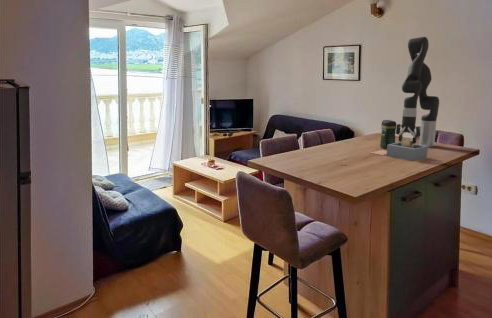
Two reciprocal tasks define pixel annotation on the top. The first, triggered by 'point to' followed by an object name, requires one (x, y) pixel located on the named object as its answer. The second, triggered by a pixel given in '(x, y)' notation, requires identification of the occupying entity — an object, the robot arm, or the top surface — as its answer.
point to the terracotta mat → (380, 152)
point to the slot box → (407, 151)
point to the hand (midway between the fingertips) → (407, 142)
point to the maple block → (407, 143)
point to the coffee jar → (387, 133)
